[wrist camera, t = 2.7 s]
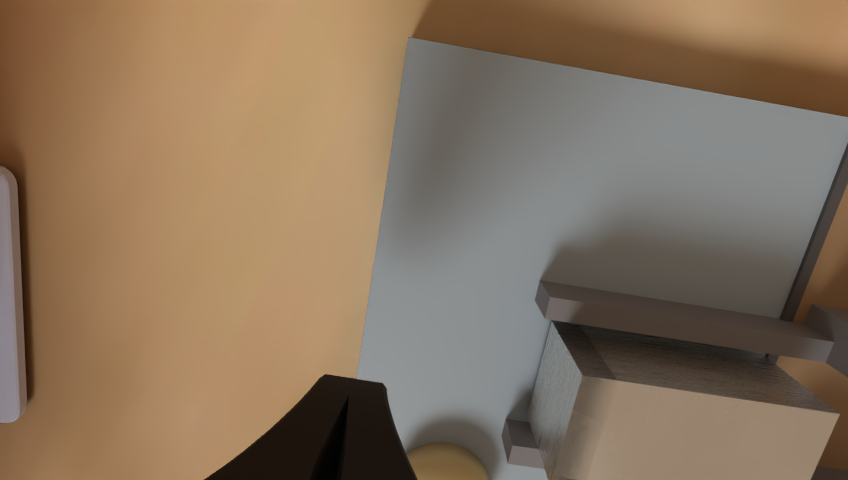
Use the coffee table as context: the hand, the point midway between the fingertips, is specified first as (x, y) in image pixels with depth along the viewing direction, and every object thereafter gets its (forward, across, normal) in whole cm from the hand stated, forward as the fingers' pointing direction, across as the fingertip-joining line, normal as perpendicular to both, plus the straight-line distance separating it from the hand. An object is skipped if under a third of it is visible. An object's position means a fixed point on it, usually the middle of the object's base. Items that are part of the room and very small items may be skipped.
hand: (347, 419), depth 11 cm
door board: (+5, -8, 0) cm, 9 cm away
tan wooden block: (+3, -8, 0) cm, 9 cm away
